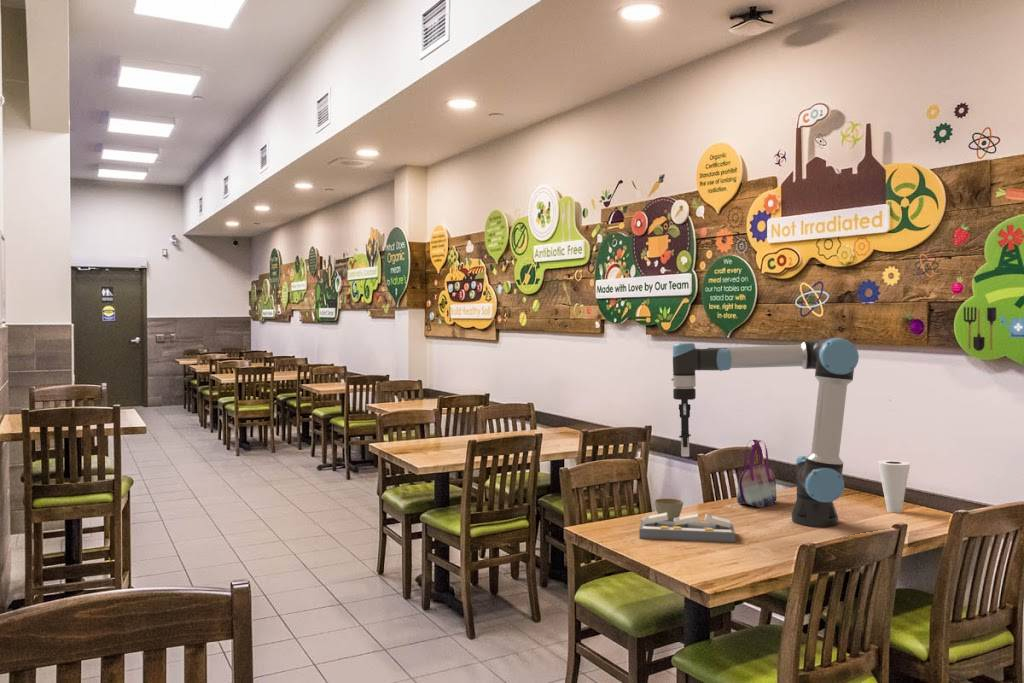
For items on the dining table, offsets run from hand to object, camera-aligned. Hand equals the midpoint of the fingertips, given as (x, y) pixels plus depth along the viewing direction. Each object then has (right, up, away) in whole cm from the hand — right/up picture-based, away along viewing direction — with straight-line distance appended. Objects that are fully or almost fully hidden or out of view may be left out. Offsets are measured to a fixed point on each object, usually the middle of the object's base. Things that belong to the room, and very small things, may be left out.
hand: (685, 455), depth 258 cm
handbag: (+36, -24, +33) cm, 54 cm away
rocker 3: (+8, -19, -13) cm, 24 cm away
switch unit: (-2, -25, -12) cm, 27 cm away
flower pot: (-4, -25, +8) cm, 26 cm away
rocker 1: (-12, -20, -8) cm, 24 cm away
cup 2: (+81, -23, +17) cm, 86 cm away
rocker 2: (-2, -20, -11) cm, 22 cm away
